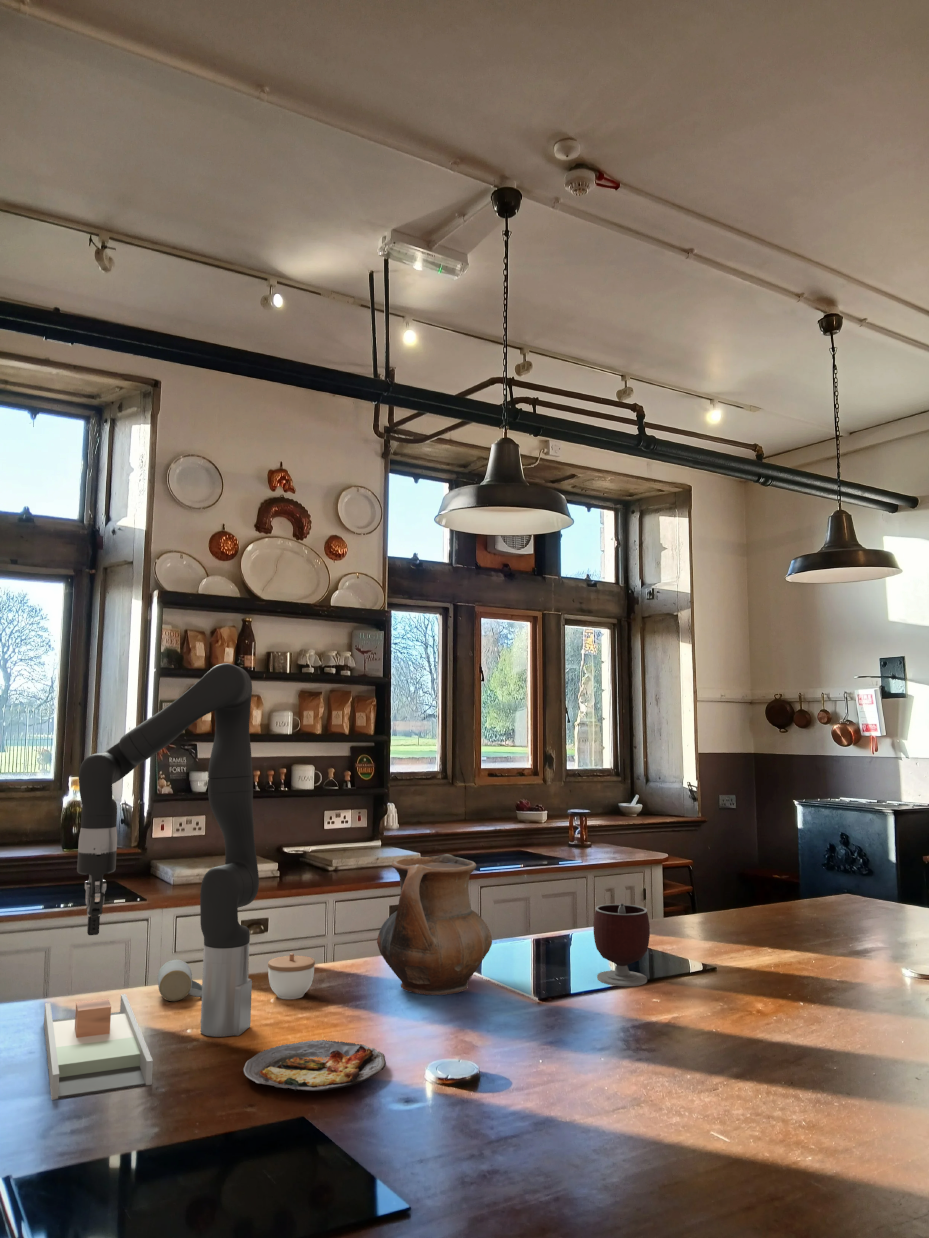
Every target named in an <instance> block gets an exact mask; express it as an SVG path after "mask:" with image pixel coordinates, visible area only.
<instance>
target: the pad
mask: <svg viewBox="0 0 929 1238" xmlns="http://www.w3.org/2000/svg"><path fill="white" fill-rule="evenodd" d="M56 1051H57V1059H58V1067H59V1077H65V1076H72V1075H79V1074H86V1073H93V1072H100V1071H107V1070H114V1069H121V1068H128V1067H135V1066H140V1052H139V1049H138V1047H137V1044H136V1041H135V1039H134V1037H130V1038H123V1039H115V1040H107V1041H100V1042H92V1043H84V1044H77V1045H69V1046H61V1047H56Z"/></svg>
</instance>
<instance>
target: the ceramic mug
mask: <svg viewBox="0 0 929 1238" xmlns="http://www.w3.org/2000/svg"><path fill="white" fill-rule="evenodd" d="M157 986H158V992H159V993H160V995H161V996H162V998H164V1000H166V1001H168V1002H169V1001H170V1002H178V1001H181V1000H183V999H184V998H186V997H187V995H190V996H192V997H193V996H194V997H197V998H202V983H199V982H198V981H196V980H193V972H192V969H191V966H190V965H189V964H188V963H187V962H186V961H185V960H181V959H171V960H168V961H167V962H165V963H164V964H163V965H162V966H161V967H160V969H159V970H158V973H157Z"/></svg>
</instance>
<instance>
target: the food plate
mask: <svg viewBox="0 0 929 1238" xmlns="http://www.w3.org/2000/svg"><path fill="white" fill-rule="evenodd" d="M316 1058H317V1059H319V1058H321V1059H323V1060H317V1059H316ZM386 1061H387V1060H386V1056H385V1054H384V1053H383V1052H381V1051H377V1049H376V1048H374V1047H369V1046H367V1045H366V1044H361V1043H355V1042H354V1043H353V1042H348V1041H346V1042H345V1041H339V1040H338V1041H335V1040H330V1039H329V1040H325V1039H321V1040H313V1039H312V1040H307V1041H300V1042H294V1043H285V1044H281V1045H277V1046H275V1047H271V1048H269V1049H264V1050H263V1051H261V1050H260V1052H258V1053H256V1054H255V1055H254V1056H252V1057H251V1058H249V1059H248V1060H247V1061H246V1062H245V1064H244V1067H243V1074H244V1075H245V1076H246V1078H248V1079H249V1080H251V1081H253V1082H255V1083H256V1084H262V1085H267V1086H271V1087H272V1086H274V1087H275V1088H283V1089H288V1088H289V1089H292V1090H294V1091H295V1092H296V1091H297V1090H302V1091H314V1092H317V1091H318V1092H323V1091H331V1090H334V1089H340V1088H344V1087H350V1086H354V1085H356V1084H359V1083H364V1082H366V1081H367V1080H368V1079H371V1077H373V1076H375V1075H376V1074H378V1073H379V1072H381V1071H382V1070H384V1068H385V1067H386V1066H387V1062H386ZM278 1066H280V1067H281V1068H279V1067H278Z"/></svg>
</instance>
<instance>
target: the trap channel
mask: <svg viewBox="0 0 929 1238" xmlns="http://www.w3.org/2000/svg"><path fill="white" fill-rule="evenodd" d="M119 1008H120V1009H119V1011H116V1012H115V1011H114V1012H111V1020H110V1034H103V1035H95V1036H87V1037H79V1038H76V1033H75V1016H72V1017H65V1018H57V1019H53V1013H52V1012H53V1011H52V1004H51V1001H49V1002H45V1003H44V1014H43V1015H44V1016H43V1017H44V1018H43V1025H44V1036H45V1037H44V1039H45V1048H46V1059H47V1068H48V1069H49V1070H48V1078H49V1088H50V1098H51V1100H52V1101H53V1100H59V1099H66V1098H72V1097H80V1096H86V1095H93V1094H98V1093H99V1094H100V1093H105V1092H112V1091H119V1090H126V1089H133V1088H139V1087H144V1086H151V1085H152V1084H153V1067H154V1066H153V1064H154V1063H153V1062H154V1060H153V1057H152V1055H151V1053H150V1050H149V1047H148V1045H147V1043H146V1041H145V1038H144V1035H143V1032H142V1030H141V1028H140V1026H139V1023H138V1021H137V1019H136V1016H135V1013H134V1011H133V1008H132V1006H131V1004H130V1001H129V998H128V995H127V993H123V994H122V993H121V994H120V1005H119ZM130 1037H134V1039H135V1041H136V1044H137V1047H138V1049H139V1052H140V1066H135V1067H128V1068H121V1069H114V1070H107V1071H100V1072H93V1073H86V1074H79V1075H72V1076H65V1077H59V1067H58V1059H57V1051H56V1047H61V1046H69V1045H77V1044H84V1043H92V1042H100V1041H107V1040H115V1039H123V1038H130Z"/></svg>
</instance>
